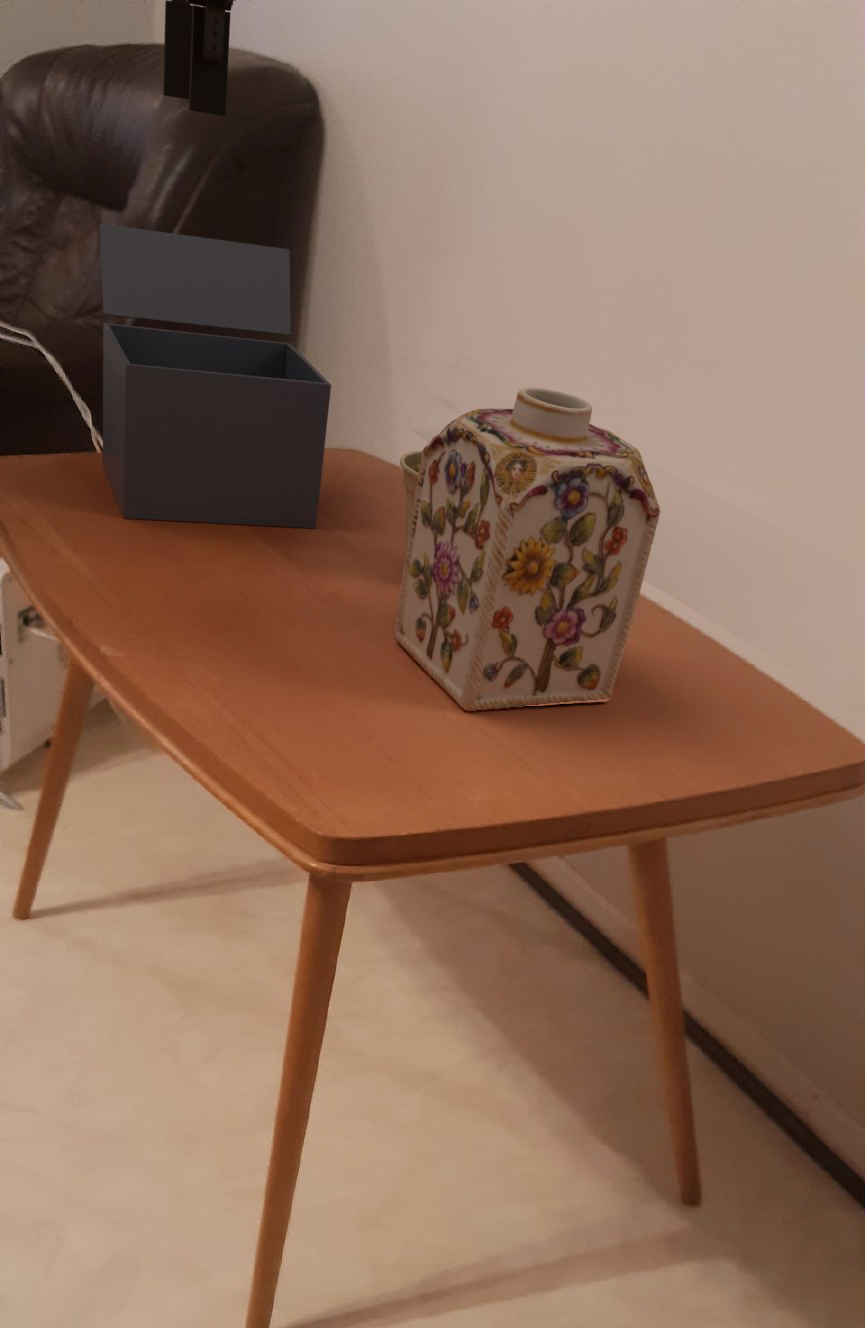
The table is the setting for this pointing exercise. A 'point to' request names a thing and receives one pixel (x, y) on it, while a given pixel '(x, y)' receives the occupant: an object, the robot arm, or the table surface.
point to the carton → (212, 428)
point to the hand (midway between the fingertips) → (192, 105)
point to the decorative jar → (525, 554)
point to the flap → (195, 280)
